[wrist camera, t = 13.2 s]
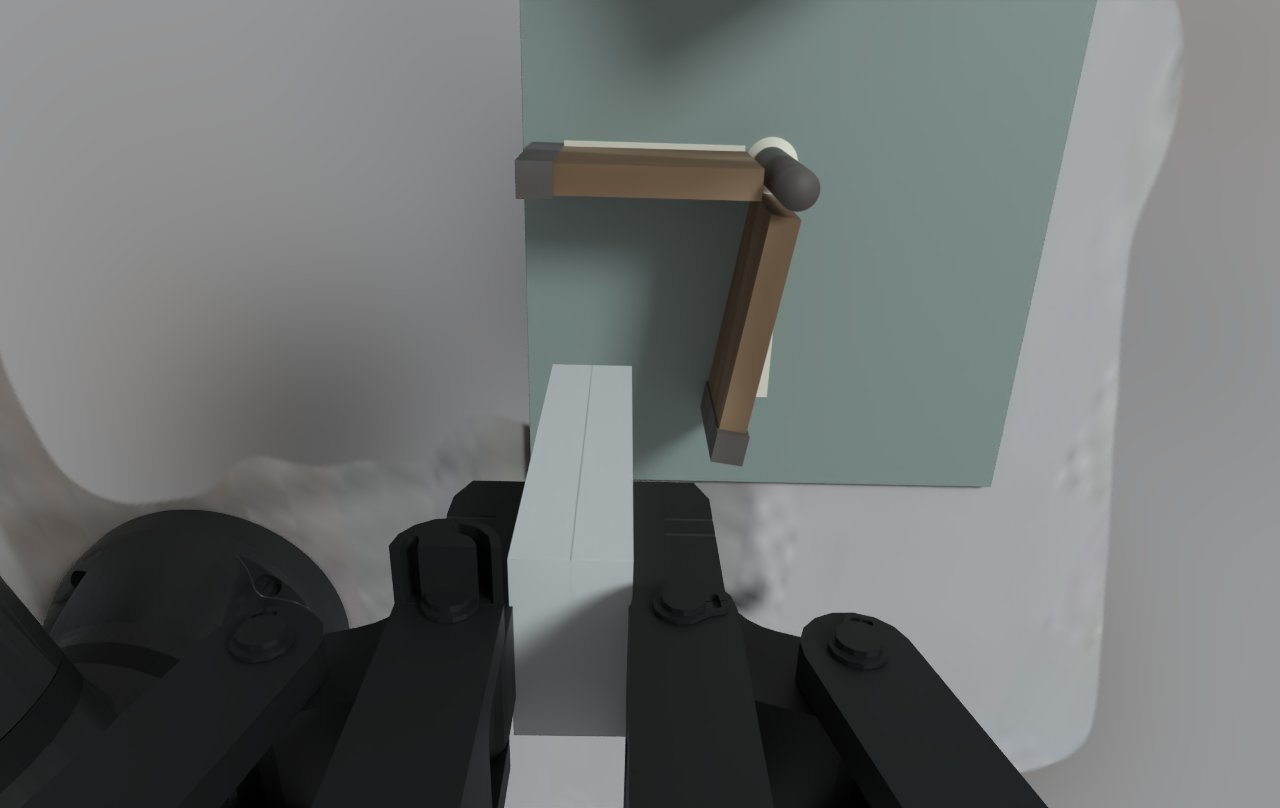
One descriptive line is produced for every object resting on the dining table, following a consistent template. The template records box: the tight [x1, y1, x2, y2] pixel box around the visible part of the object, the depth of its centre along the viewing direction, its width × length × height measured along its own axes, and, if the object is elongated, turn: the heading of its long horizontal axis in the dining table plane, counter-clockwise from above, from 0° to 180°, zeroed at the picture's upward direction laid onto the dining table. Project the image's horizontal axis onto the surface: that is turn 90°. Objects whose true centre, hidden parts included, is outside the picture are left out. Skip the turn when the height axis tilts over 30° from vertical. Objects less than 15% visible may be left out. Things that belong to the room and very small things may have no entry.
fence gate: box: [700, 193, 802, 467], centre depth 37 cm, size 1×11×6 cm, turn 170°
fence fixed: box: [515, 142, 820, 212], centre depth 35 cm, size 2×11×7 cm, turn 88°
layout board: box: [520, 0, 1097, 487], centre depth 40 cm, size 24×24×1 cm
